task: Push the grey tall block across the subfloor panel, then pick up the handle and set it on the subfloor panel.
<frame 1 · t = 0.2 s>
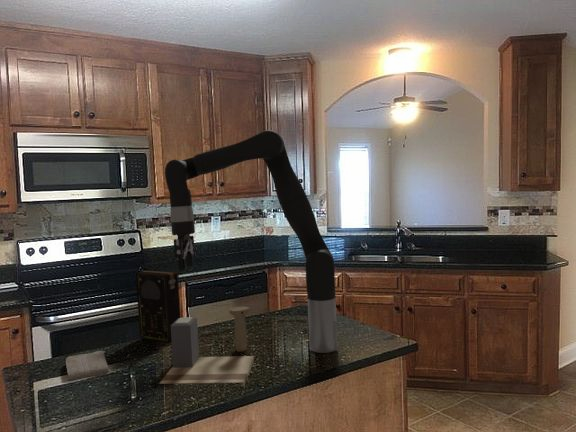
hand: (186, 268, 163), 28 cm above the counter, tool pointing down, fingers open, 8 cm apart
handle: (241, 353, 161), on the counter
voltmeter: (161, 339, 181), on the counter
subfloor panel: (209, 372, 146), on the counter
washcloth: (87, 369, 155), on the counter
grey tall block: (186, 362, 152), point 1 cm above the counter, touching subfloor panel
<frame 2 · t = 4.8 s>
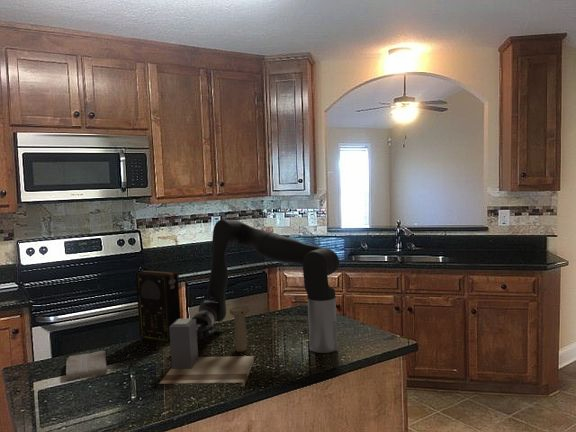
hand: (187, 339, 154), 8 cm above the counter, tool horizontal, fingers closed
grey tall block: (185, 363, 151), point 1 cm above the counter, touching subfloor panel
everything else where it was.
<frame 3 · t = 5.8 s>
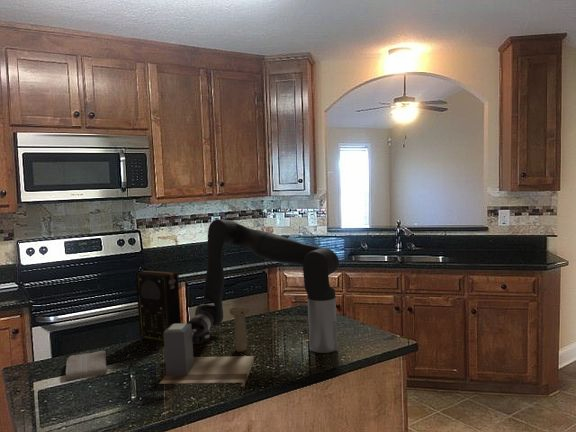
hand: (182, 345, 149), 8 cm above the counter, tool horizontal, fingers closed
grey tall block: (180, 370, 146), point 1 cm above the counter, touching gripper, subfloor panel
everything else where it was.
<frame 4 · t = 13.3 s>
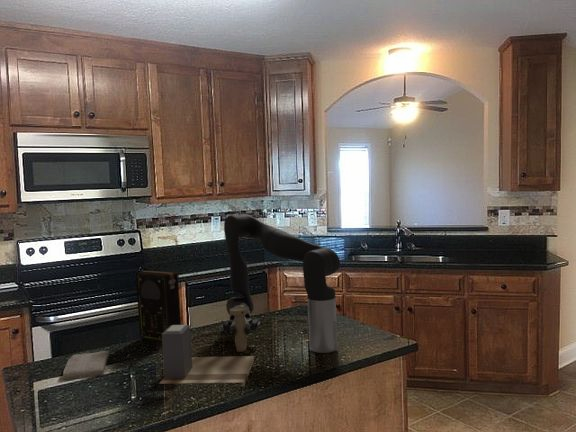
hand: (240, 332, 158), 8 cm above the counter, tool horizontal, fingers closed on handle, 3 cm apart
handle: (241, 353, 161), on the counter, touching gripper
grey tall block: (178, 372, 144), point 1 cm above the counter, touching subfloor panel
when the fingers open (10 cm above the counter, at t = 18.3 s): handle drops 1 cm, resting on subfloor panel.
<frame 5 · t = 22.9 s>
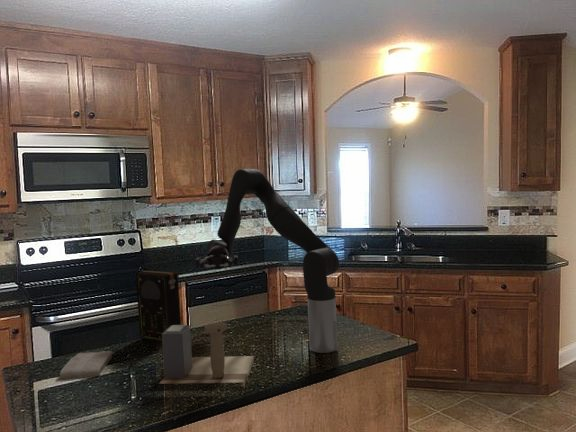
hand: (216, 264, 159), 30 cm above the counter, tool horizontal, fingers open, 8 cm apart
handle: (218, 377, 140), point 1 cm above the counter, touching subfloor panel
at the end: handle inside the target area (0.2 cm from its centre), point 1.0 cm above the counter; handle tilted 0°; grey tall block inside the target area (0.1 cm from its centre), point 1.2 cm above the counter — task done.
